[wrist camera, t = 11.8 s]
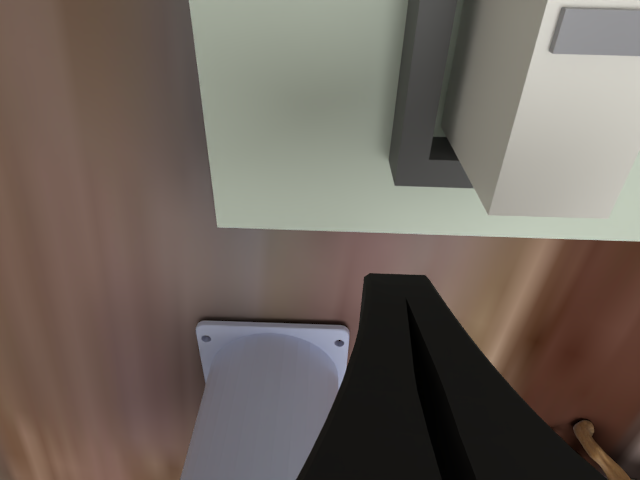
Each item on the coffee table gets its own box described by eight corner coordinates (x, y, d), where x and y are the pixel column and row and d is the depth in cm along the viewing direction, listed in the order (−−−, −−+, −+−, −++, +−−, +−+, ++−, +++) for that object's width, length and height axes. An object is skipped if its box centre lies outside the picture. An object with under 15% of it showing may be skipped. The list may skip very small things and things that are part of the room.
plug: (524, 128, 16) (612, 222, 11) (441, 126, 16) (490, 219, 11) (572, -34, 13) (719, -6, 8) (470, -37, 13) (555, -10, 8)
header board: (677, 227, 20) (729, 273, 17) (223, 212, 20) (206, 256, 17) (966, -274, 11) (1158, -333, 9) (164, -299, 11) (114, -366, 9)
